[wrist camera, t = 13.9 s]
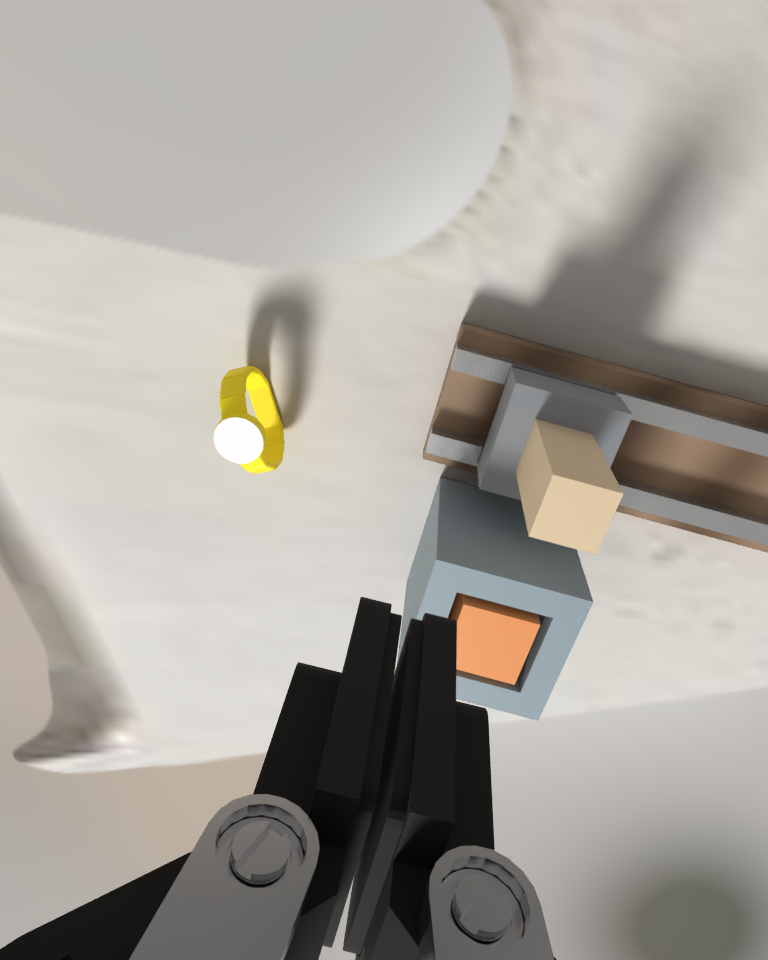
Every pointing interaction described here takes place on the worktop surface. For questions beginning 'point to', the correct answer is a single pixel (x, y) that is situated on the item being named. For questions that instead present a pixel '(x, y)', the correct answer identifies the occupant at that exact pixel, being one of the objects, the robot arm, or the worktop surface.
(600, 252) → the worktop surface
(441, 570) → the end cabinet
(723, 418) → the rail board
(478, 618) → the button
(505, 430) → the carriage
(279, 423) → the watch
